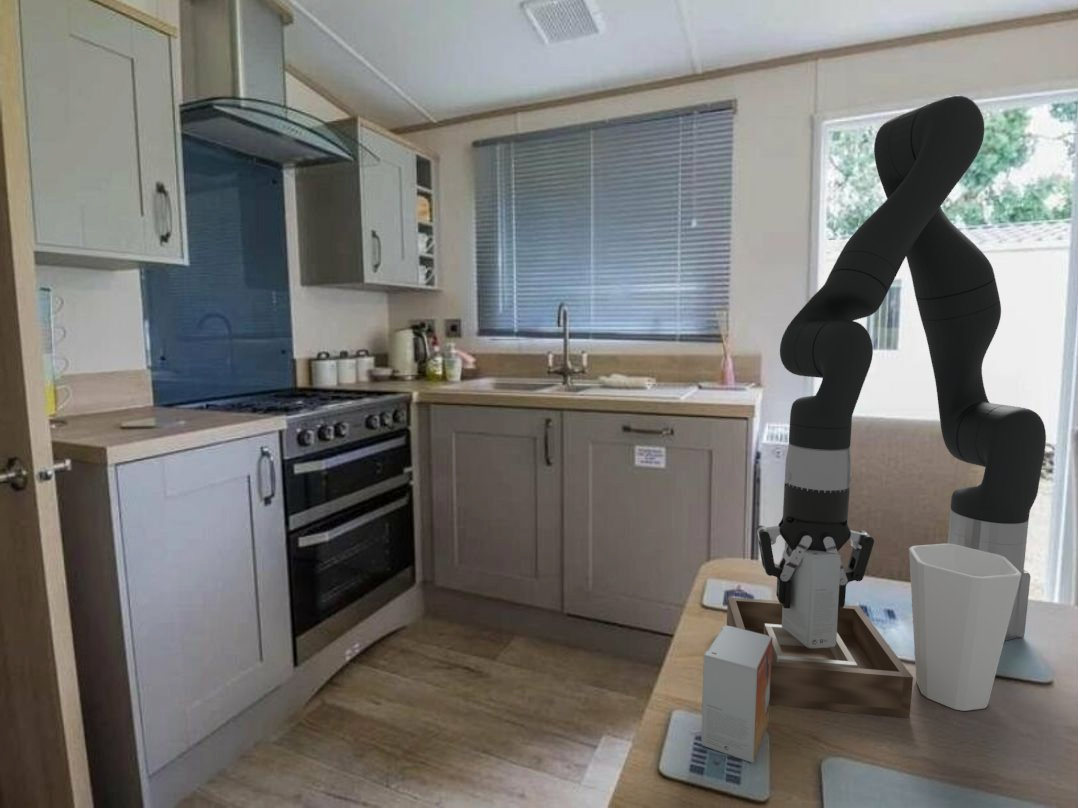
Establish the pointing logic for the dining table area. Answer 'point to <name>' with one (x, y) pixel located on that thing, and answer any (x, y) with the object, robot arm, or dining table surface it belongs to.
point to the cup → (959, 621)
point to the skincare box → (814, 599)
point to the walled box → (829, 663)
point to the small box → (736, 692)
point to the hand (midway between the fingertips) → (809, 606)
